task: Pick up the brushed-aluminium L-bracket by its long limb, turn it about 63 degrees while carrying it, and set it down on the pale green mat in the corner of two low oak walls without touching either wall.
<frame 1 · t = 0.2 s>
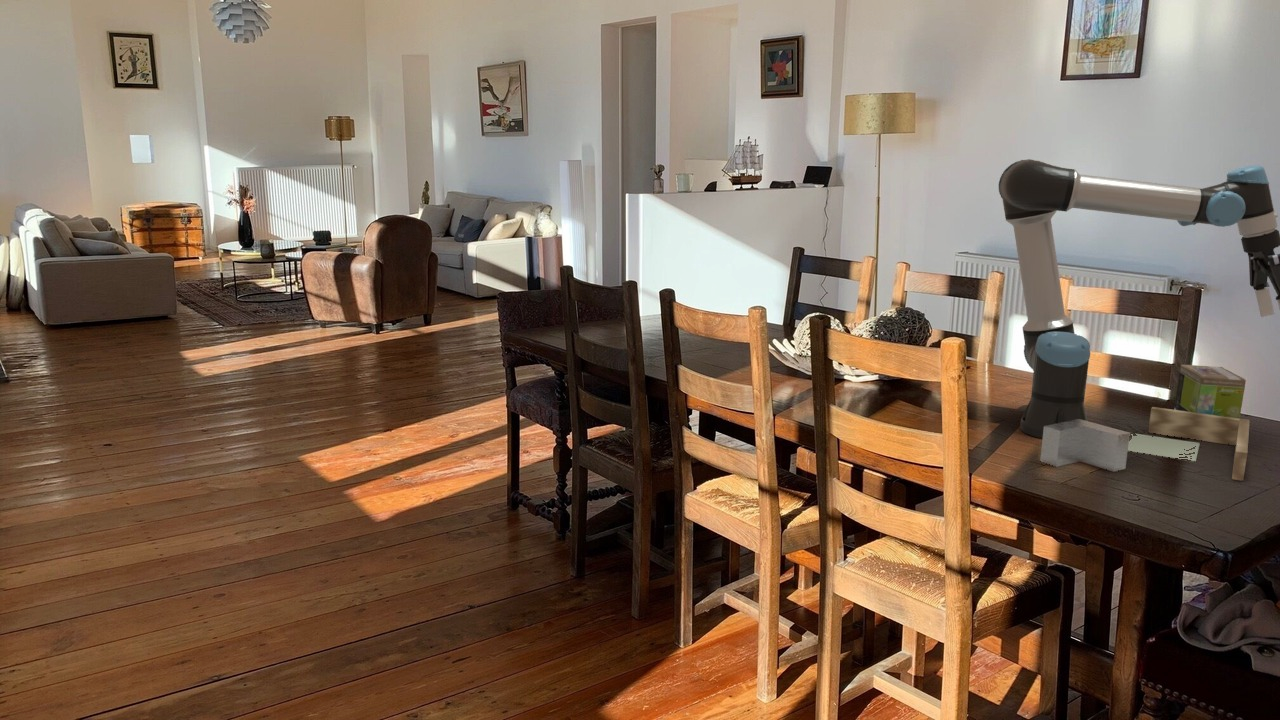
hand: (1278, 320, 227), 28 cm above the table, tool tilted 20°, fingers open, 13 cm apart
tea box: (1203, 430, 236), on the table
bracket: (1093, 462, 210), on the table
wooden corner fence: (1191, 456, 215), on the table
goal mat: (1157, 446, 222), on the table
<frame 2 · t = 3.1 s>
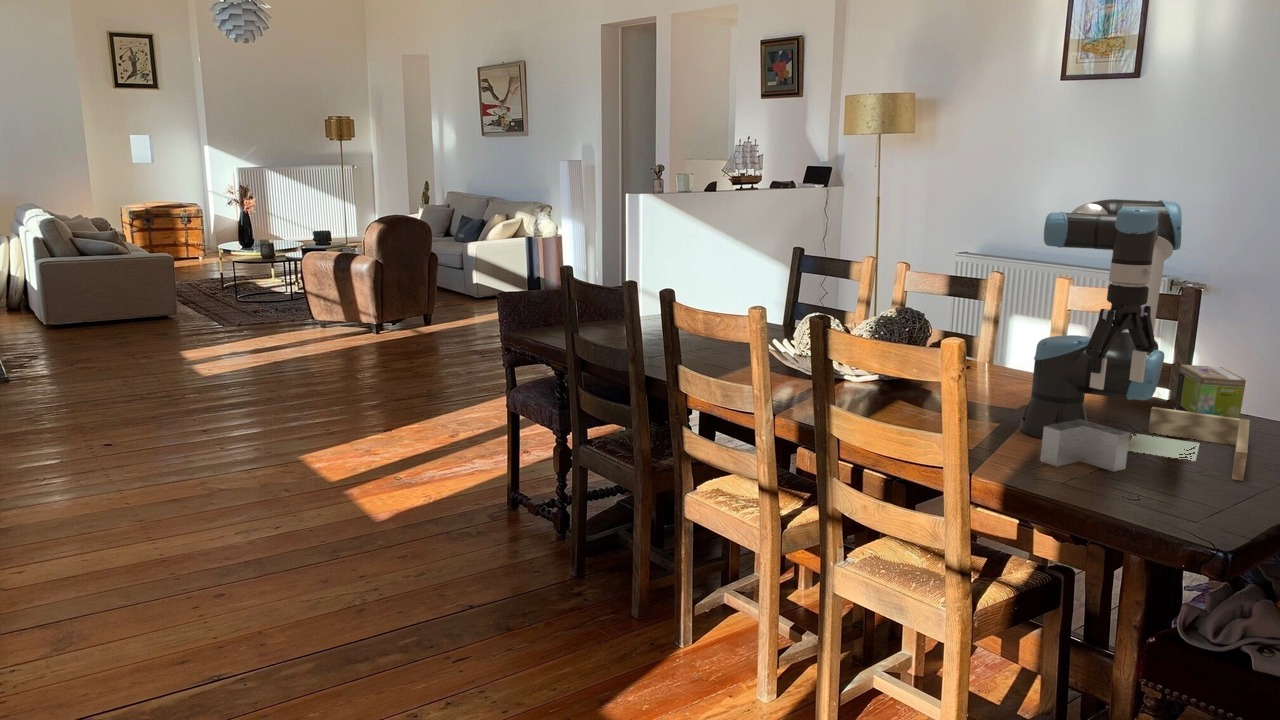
hand: (1116, 384, 203), 18 cm above the table, tool pointing down, fingers open, 13 cm apart
nothing on the table moved.
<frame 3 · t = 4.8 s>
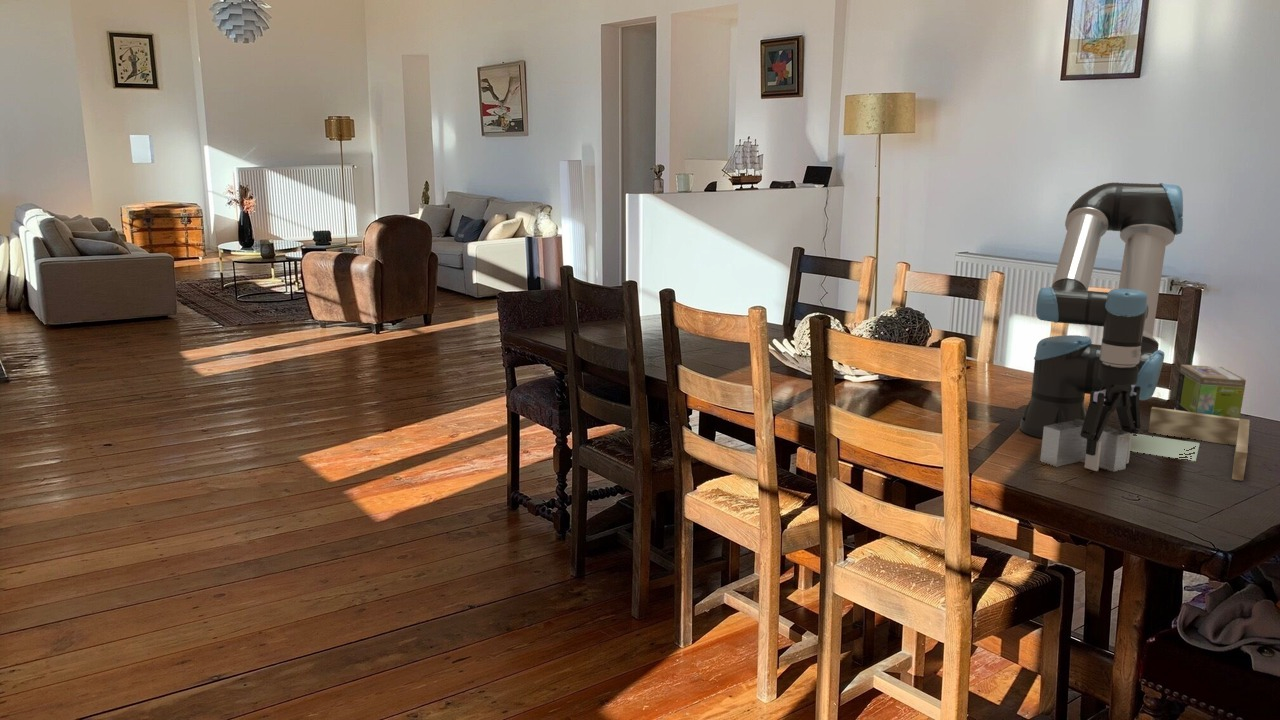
hand: (1106, 465, 207), 0 cm above the table, tool pointing down, fingers open, 10 cm apart
nothing on the table moved.
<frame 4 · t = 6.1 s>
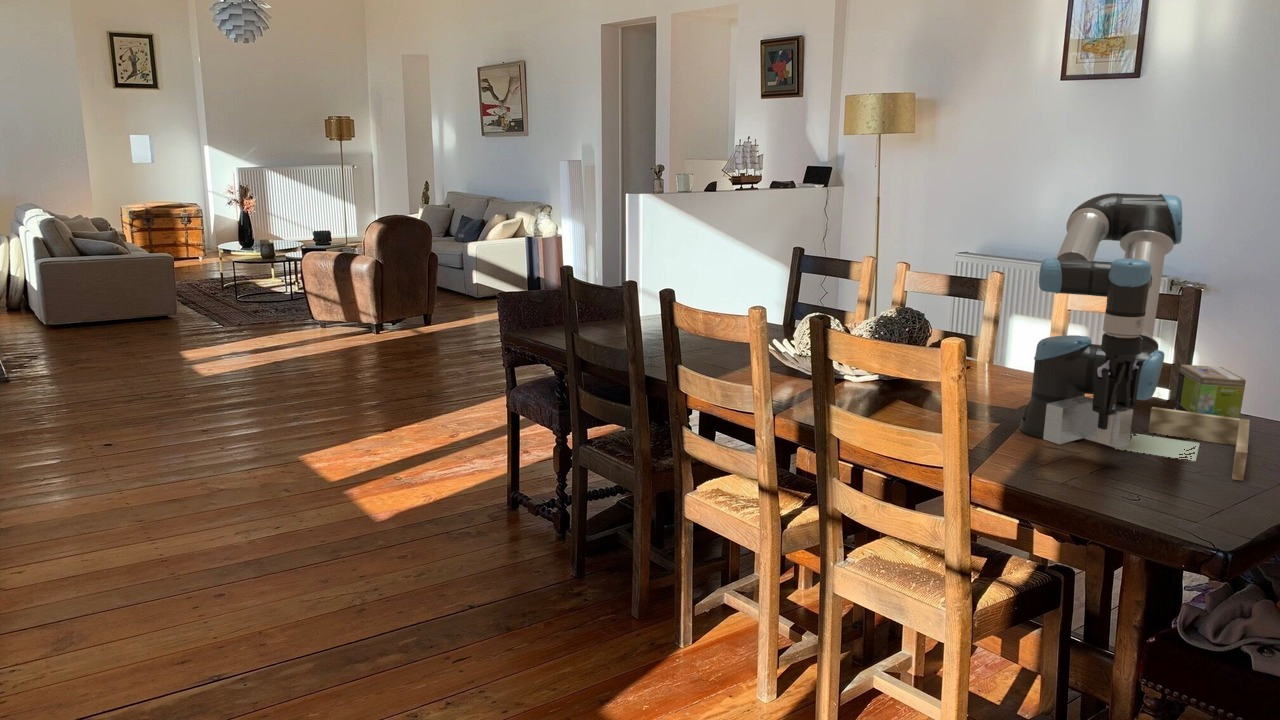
hand: (1109, 440, 207), 5 cm above the table, tool pointing down, fingers closed on bracket, 4 cm apart
bracket: (1097, 439, 209), point 5 cm above the table, touching gripper
everything else where it was.
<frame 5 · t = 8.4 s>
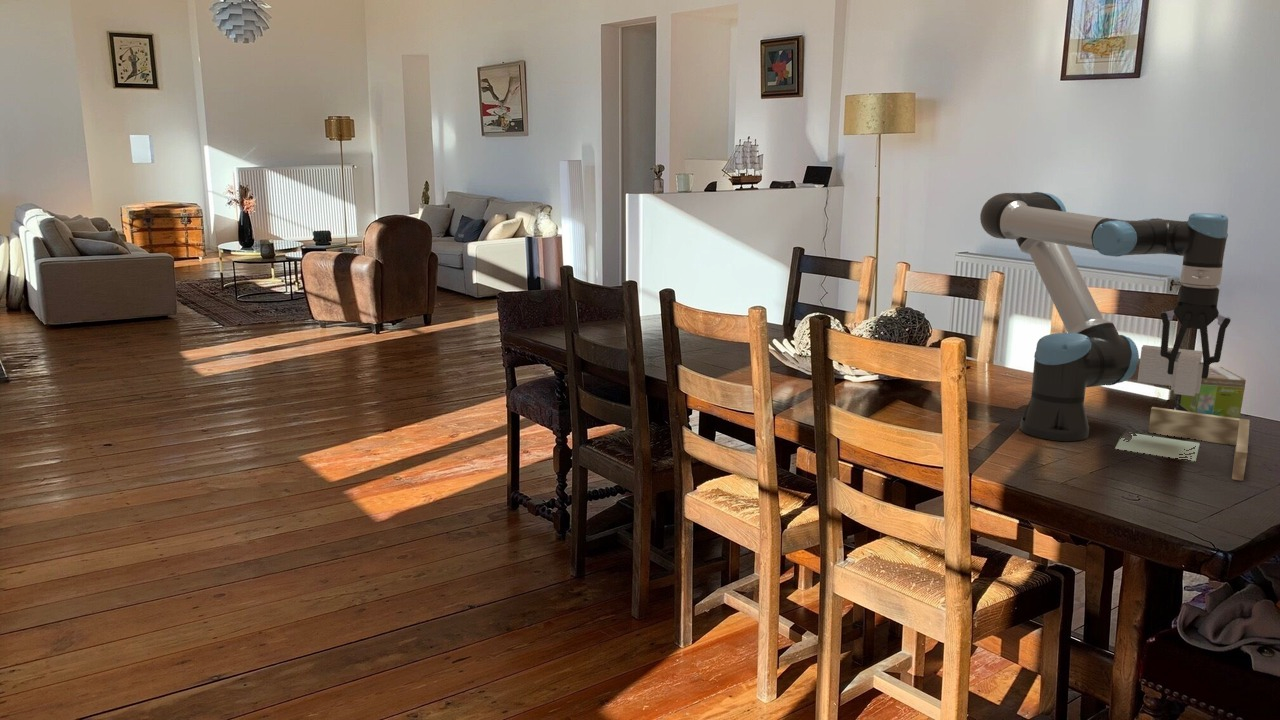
hand: (1185, 390, 214), 14 cm above the table, tool pointing down, fingers closed on bracket, 4 cm apart
bracket: (1186, 389, 216), point 14 cm above the table, touching gripper
everything else where it was.
when the fingers open (1 cm above the table, at t = 11.1 s): bracket stays where it is, resting on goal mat.
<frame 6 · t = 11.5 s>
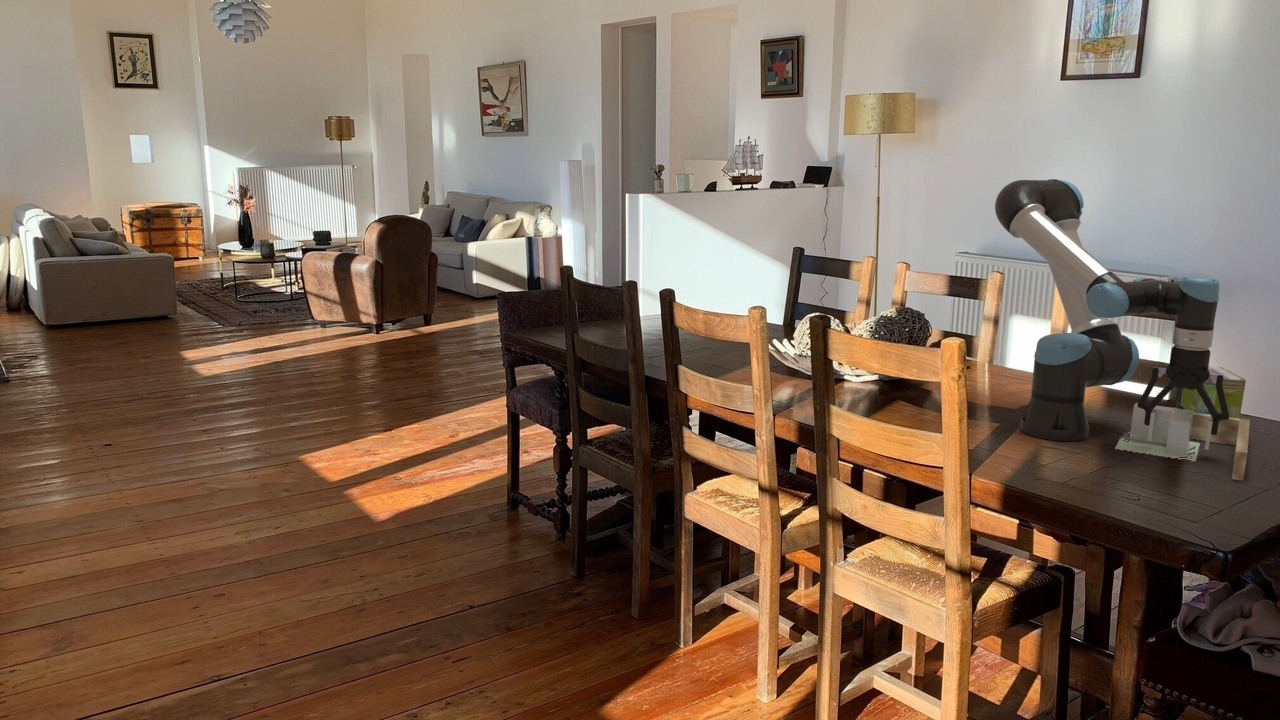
hand: (1177, 443, 217), 2 cm above the table, tool pointing down, fingers open, 10 cm apart
bracket: (1177, 449, 219), resting on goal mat
everything else where it was.
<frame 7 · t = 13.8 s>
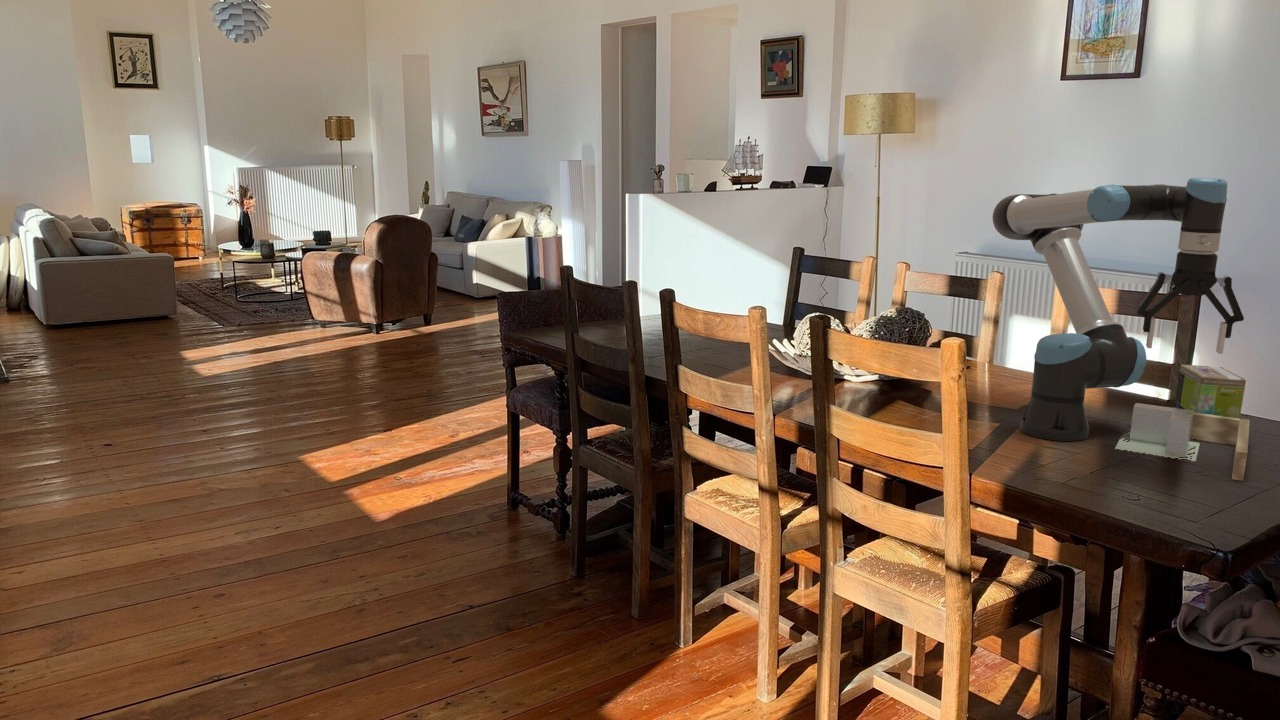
hand: (1183, 349, 210), 24 cm above the table, tool pointing down, fingers open, 13 cm apart
nothing on the table moved.
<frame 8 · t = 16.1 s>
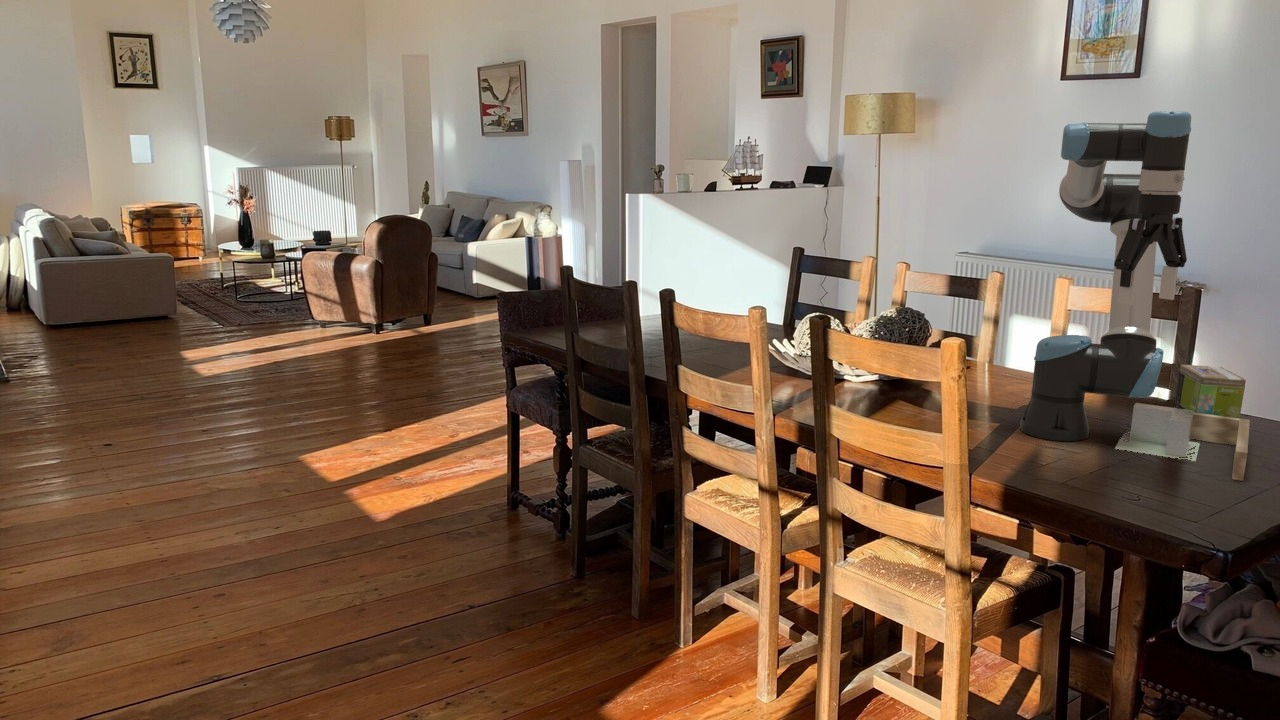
hand: (1146, 301, 193), 37 cm above the table, tool pointing down, fingers open, 13 cm apart
nothing on the table moved.
at the end: bracket inside the target area on the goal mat (0.3 cm from its centre), point 0.1 cm above the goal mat's base; bracket tilted 0°; bracket touching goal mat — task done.
